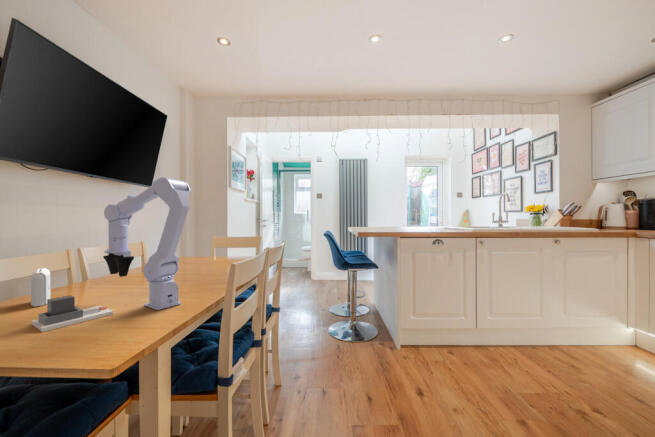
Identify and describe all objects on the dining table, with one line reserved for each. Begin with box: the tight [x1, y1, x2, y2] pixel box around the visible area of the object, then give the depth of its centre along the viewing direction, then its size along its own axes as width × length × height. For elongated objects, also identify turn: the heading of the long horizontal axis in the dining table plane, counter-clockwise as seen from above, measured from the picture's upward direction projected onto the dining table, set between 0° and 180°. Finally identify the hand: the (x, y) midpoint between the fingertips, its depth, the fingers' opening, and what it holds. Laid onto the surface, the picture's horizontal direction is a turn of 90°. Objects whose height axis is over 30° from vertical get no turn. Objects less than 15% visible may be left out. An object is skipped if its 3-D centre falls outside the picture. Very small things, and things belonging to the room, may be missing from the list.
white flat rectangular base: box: [31, 305, 114, 333], centre depth 83 cm, size 10×16×3 cm, turn 148°
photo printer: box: [30, 267, 52, 308], centre depth 98 cm, size 10×4×12 cm, turn 39°
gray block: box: [46, 294, 76, 317], centre depth 80 cm, size 4×5×6 cm
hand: (118, 275), depth 101 cm, fingers open, 7 cm apart
